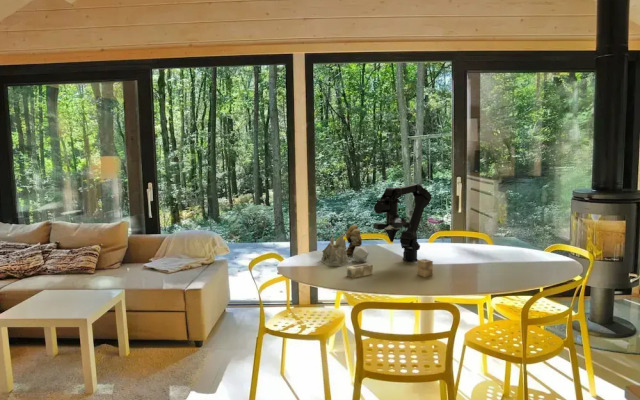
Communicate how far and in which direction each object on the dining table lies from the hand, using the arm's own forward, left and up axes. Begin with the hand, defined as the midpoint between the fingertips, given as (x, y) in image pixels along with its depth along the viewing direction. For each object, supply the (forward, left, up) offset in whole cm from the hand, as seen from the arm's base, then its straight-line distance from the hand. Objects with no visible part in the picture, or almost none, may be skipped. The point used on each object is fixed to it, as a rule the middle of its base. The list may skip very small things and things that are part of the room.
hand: (391, 241), depth 235 cm
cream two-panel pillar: (+18, +11, -10) cm, 23 cm away
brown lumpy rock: (+7, -31, -12) cm, 34 cm away
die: (+12, -13, -12) cm, 22 cm away
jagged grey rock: (+26, -16, -12) cm, 33 cm away
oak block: (-5, +24, -12) cm, 27 cm away
